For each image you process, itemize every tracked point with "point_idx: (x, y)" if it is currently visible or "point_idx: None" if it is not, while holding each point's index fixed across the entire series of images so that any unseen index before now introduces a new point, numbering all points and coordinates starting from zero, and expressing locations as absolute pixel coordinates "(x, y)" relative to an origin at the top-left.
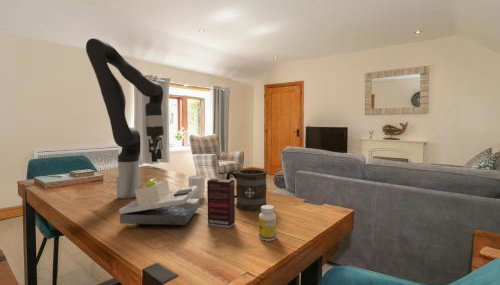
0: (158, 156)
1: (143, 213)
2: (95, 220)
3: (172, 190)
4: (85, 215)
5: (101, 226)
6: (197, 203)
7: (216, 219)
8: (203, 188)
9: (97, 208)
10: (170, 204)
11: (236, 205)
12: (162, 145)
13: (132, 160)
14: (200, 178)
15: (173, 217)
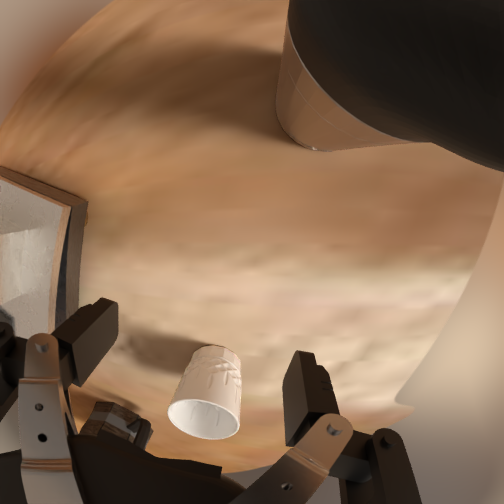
0: (293, 381)
1: None
2: (59, 78)
3: (37, 307)
4: (107, 30)
5: (26, 114)
6: None
7: None
8: (196, 401)
9: (166, 28)
10: None
11: (111, 406)
12: (367, 501)
13: (308, 62)
14: (172, 422)
15: None
